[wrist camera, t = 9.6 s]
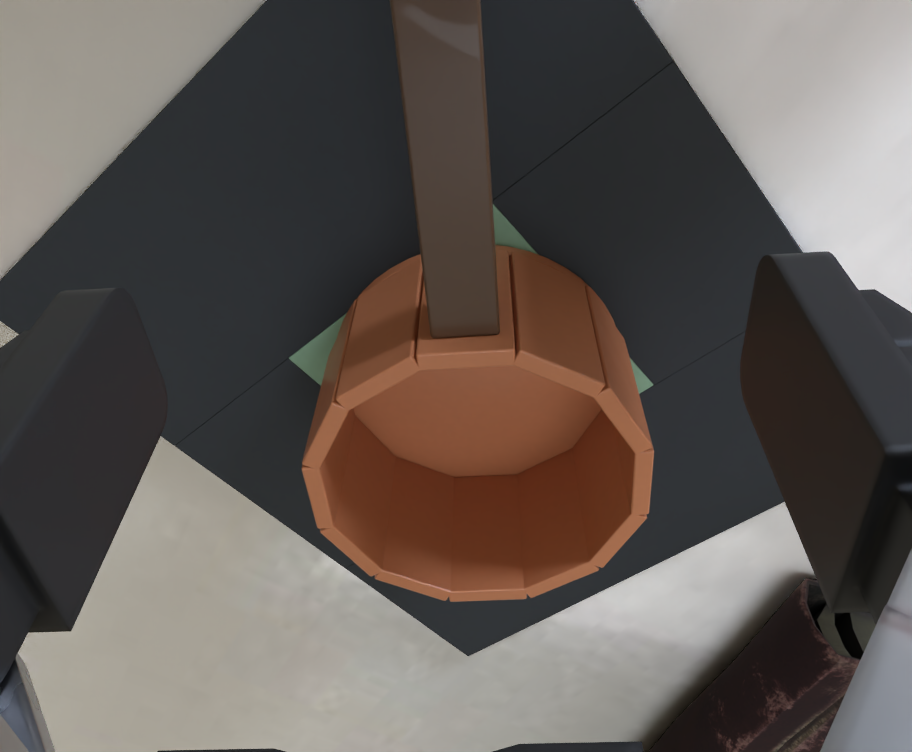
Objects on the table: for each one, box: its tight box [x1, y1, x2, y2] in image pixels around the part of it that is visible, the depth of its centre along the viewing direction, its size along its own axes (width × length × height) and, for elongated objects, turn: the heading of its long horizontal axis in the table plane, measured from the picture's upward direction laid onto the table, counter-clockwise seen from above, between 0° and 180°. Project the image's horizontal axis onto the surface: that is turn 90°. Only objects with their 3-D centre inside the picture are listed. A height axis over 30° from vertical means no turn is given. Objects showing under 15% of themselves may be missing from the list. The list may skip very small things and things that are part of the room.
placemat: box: [0, 0, 803, 656], centre depth 31 cm, size 28×24×1 cm
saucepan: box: [301, 0, 654, 602], centre depth 26 cm, size 21×11×6 cm, turn 5°
